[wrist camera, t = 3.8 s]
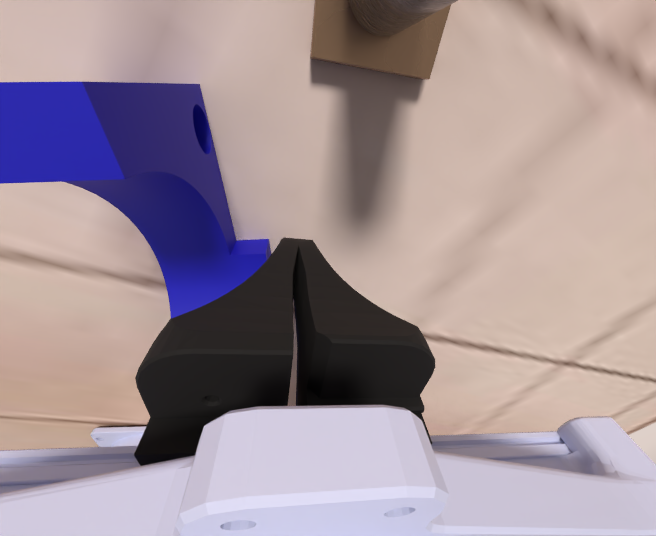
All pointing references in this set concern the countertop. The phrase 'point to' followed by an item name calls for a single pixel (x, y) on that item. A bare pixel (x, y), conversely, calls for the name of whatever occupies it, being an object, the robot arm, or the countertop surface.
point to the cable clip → (136, 172)
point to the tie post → (380, 34)
